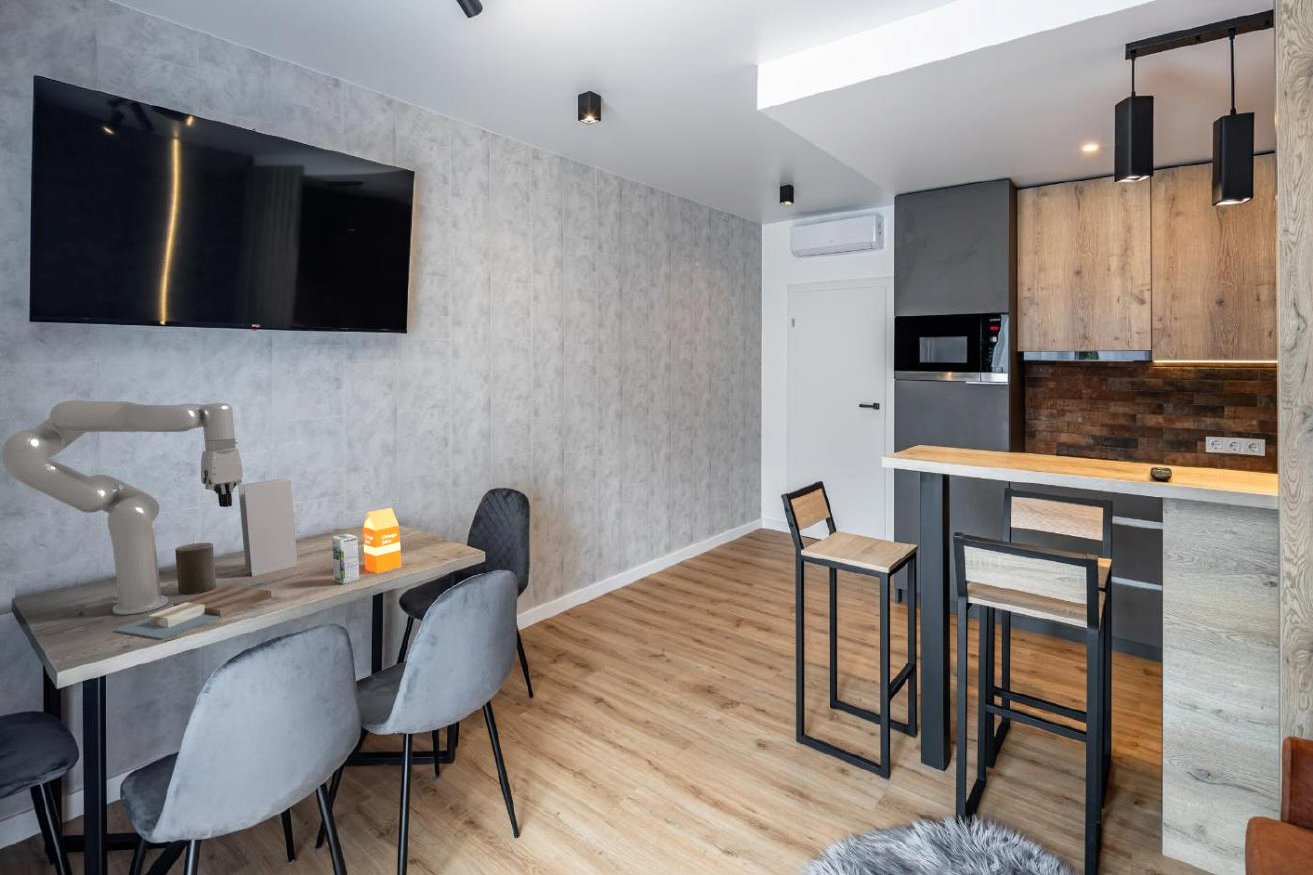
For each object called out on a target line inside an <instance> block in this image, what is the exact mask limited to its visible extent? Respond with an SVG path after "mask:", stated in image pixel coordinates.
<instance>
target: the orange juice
mask: <svg viewBox="0 0 1313 875" xmlns="http://www.w3.org/2000/svg"><path fill="white" fill-rule="evenodd" d="M362 533H363V534H362V537H363V552H364V566H365V568H364V569H365V570H367V571H370V572H371V573H375V574H379V573H383V572H387V571H390V570H395V569H398V568H402V555H401V539H400V537H401V535H400V526H399V523H398V520H397V517H396V515H395V513H394V511H393V508H392V507H390V508H384V509H383V508H382V509H378V510H373V511H369V512H367V513H366V517H365V520H364V523H363V526H362Z"/></svg>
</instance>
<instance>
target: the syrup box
mask: <svg viewBox="0 0 1313 875" xmlns="http://www.w3.org/2000/svg"><path fill="white" fill-rule="evenodd" d="M331 545H332V561H333V562H332V565H333V578H334V579H333V580H334V582H337V583H339V584H342V585H345V584H348V583H352V582H355V581H359V580H360V566H359V564H360V562H359V546H358V536H357V535H352V534H350V533H344V534H343V533H342V534H339V535H338V534H337V535H334V536H332V537H331Z"/></svg>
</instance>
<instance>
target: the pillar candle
mask: <svg viewBox="0 0 1313 875" xmlns="http://www.w3.org/2000/svg"><path fill="white" fill-rule="evenodd" d="M174 550H175V563H176V564H175V565H176V577H177V591H178V593H179V594H181V595H193V594H194V595H195V594H203V593H206V592H208V591H209V590H210V591H211V590H214V589H217V578H216V567H215V565H216V564H215V556H214V555H215V553H214V552H215V551H214V543H211V542H198V543H197V542H196V543H194V542H192V543H189V544H184V545H181V546H178V547H176V548H174Z"/></svg>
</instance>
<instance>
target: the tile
mask: <svg viewBox="0 0 1313 875" xmlns="http://www.w3.org/2000/svg"><path fill="white" fill-rule="evenodd" d="M203 614H205V606H204V605H202V604H195V603H188V602H186V603H183V604H180V605H177V606H174V605H173V606H172V607H169V608H166V609H164V610H160V611H158V612H155V613H152V614H149V615H148V618H149V622H150V625H156V626H163V627H171V626H173V625H176V624H179V623H181V622H184V621H187V620H189V619H192V618H195V617H198V616H200V615H203Z"/></svg>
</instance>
